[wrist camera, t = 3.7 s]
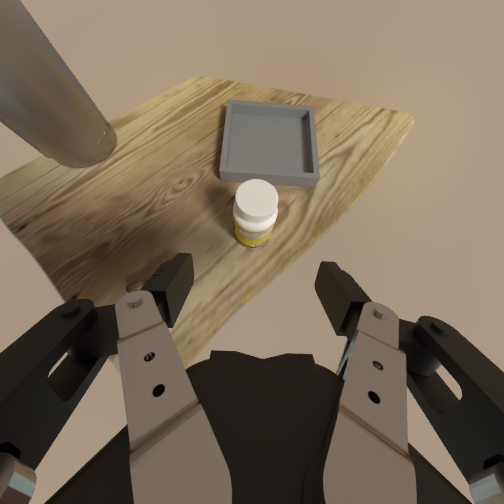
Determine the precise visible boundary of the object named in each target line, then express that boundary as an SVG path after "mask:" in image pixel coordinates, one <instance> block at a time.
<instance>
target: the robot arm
mask: <svg viewBox="0 0 504 504" xmlns="http://www.w3.org/2000/svg"><path fill="white" fill-rule="evenodd" d="M0 122H2V123H3V124H4V125H5V126H7V127H8V128H9V129H11V130H12V131H13V132H15V133H16V134H17V135H18V136H20V137H21V138H22V139H24V140H25V141H26V142H27V143H29V144H30V145H31V146H33V147H34V148H35V149H37V150H38V151H39V152H40V153H42V154H43V155H44V156H46V157H51V158H53V159H54V160H56V161H57V162H58V163H60V164H62V165H64V166H68V167H75V168H79V167H87V166H91V165H93V164H96V163H98V162H100V161H102V160H103V159H105V158H106V157H107V156H108V155H109V154H110V153H111V152H112V151H113V149H114V147H115V145H116V134H115V132H114V130H113V129H112V127H111V126H110V125H109V123H108V122H107V120H105V118H104V116H103V115H102V113H101V112H100V111H99V110H98V108H97V106H96V105H95V104H94V102H93V101H92V99H91V98H90V97H89V95H88V94H87V92H86V91H85V90H84V88H83V87H82V85H81V84H80V83H79V81H78V80H77V79H76V77H75V76H74V75H73V73H72V72H71V70H70V69H69V67H68V66H67V65H66V63H65V62H64V61H63V59H62V58H61V56H60V55H59V54H58V52H57V51H56V50H55V48H54V47H53V45H52V44H51V43H50V41H49V40H48V39H47V37H46V36H45V34H44V33H43V31H42V30H41V29H40V27H39V26H38V25H37V23H36V22H35V20H34V19H33V18H32V17H31V15H30V13H29V12H28V11H27V9H26V8H25V7H24V5H23V4H22V2H21V1H20V0H0ZM193 282H194V269H193V259H192V254H191V253H177V255H176V256H175V257H174V258H173V260H168V261H166V262H165V263H163V264H161V265H160V267H159V268H158V269H157V271H155V272H154V274H153V276H151V277H150V278H149V280H148V281H147V282H146V283H145V284H144V286H143V287H142V288H141V289H140V290H139V291H134V292H131V293H128V294H126V295H124V296H123V297H121V298H120V299H119V300H118V301H117V302H116V304H113V305H108V306H102V307H96V308H95V306H94V304H93V302H92V301H91V300H89V299H77V300H73V301H69V302H67V303H64V304H62V305H60V306H58V307H57V308H55V309H54V310H52V311H51V312H50V313H49V314H47V315H46V316H45V317H44V318H43V319H41V320H40V321H39V322H38V323H37V324H35V325H34V326H33V327H32V328H30V329H29V330H28V331H27V332H26V333H24V334H23V335H22V336H21V337H19V338H18V339H17V340H16V341H15V342H13V343H12V344H11V345H10V346H9V347H7V348H6V349H5V350H4V351H3V352H1V353H0V504H29V502H30V499H31V498H32V495H33V492H34V490H35V486H36V473H35V469H36V468H37V467H38V465H39V463H40V462H41V460H42V459H43V457H44V456H45V454H46V453H47V451H48V450H49V448H50V446H51V445H52V443H53V442H54V440H55V439H56V437H57V436H58V434H59V433H60V431H61V430H62V428H63V426H64V425H65V423H66V422H67V420H68V419H69V417H70V416H71V414H72V412H73V411H74V409H75V408H76V406H77V405H78V403H79V402H80V400H81V399H82V397H83V396H84V394H85V393H86V391H87V389H88V388H89V386H90V385H91V383H92V382H93V380H94V379H95V377H96V376H97V374H98V372H99V371H100V369H101V368H102V366H103V365H104V363H105V362H106V360H107V359H108V357H109V355H114V354H118V355H119V363H120V371H121V378H122V386H123V394H124V401H125V409H126V417H127V425H126V426H125V427H124V428H123V429H122V430H121V431H120V432H119V433H118V434H117V435H116V436H115V437H113V438H112V439H111V440H110V441H109V442H108V443H107V444H106V445H105V446H104V447H103V448H102V449H101V450H100V451H99V452H98V453H97V454H96V455H95V456H94V457H93V458H91V459H90V461H88V462H87V463H86V464H85V465H84V466H83V467H82V468H81V469H80V470H79V471H78V472H77V473H76V474H75V475H74V476H73V477H72V478H71V479H69V480H68V481H67V483H65V484H64V485H63V486H62V487H61V488H60V489H59V490H58V491H57V492H56V493H55V494H54V495H53V496H52V497H51V498H50V499H48V500H47V501H46V502H45V503H44V504H472V503H471V502H470V501H469V500H468V499H467V498H466V497H465V496H464V495H463V494H461V492H460V491H458V490H457V489H456V488H455V487H454V486H453V485H452V484H451V483H450V482H449V481H448V480H447V479H446V478H445V477H444V476H443V475H442V474H441V473H440V472H439V471H438V470H436V469H435V467H434V466H432V465H431V464H430V463H429V462H428V461H427V460H426V459H425V458H424V457H423V456H422V455H421V454H420V453H419V452H418V451H417V450H416V449H415V448H414V447H413V446H412V445H411V444H410V443H408V439H407V438H408V436H407V387H408V388H409V390H410V392H411V393H412V395H413V396H414V398H415V399H416V401H417V402H418V404H419V406H420V407H421V409H422V411H423V412H424V414H425V415H426V417H427V418H428V420H429V422H430V423H431V425H432V426H433V428H434V430H435V431H436V433H437V434H438V436H439V438H440V439H441V441H442V443H443V444H444V446H445V447H446V449H447V450H448V452H449V454H450V455H451V457H452V458H453V460H454V462H455V463H456V465H457V466H458V468H459V470H460V471H461V472H462V474H463V476H464V477H465V479H466V481H467V482H468V484H469V489H470V493H471V496H472V499H473V501H474V503H475V504H504V372H503V371H501V370H500V369H499V368H498V367H497V366H496V365H495V364H494V363H493V362H491V361H490V360H489V359H488V358H487V357H486V356H485V355H484V354H482V353H481V352H480V351H479V350H478V349H477V348H476V347H475V346H474V345H472V344H471V343H470V342H469V341H468V340H467V339H466V338H465V337H463V336H462V335H461V334H460V333H459V332H458V331H457V330H456V329H454V328H453V327H452V326H450V325H449V324H447V323H445V322H443V321H441V320H439V319H437V318H434V317H430V316H422V317H420V318H419V319H418V321H417V322H416V323H413V322H409V321H406V320H402V319H399V318H398V316H397V315H396V314H395V313H394V312H393V311H392V310H391V309H389V308H388V307H386V306H384V305H382V304H379V303H375V302H372V301H371V299H370V298H369V297H368V296H367V295H366V293H365V292H364V291H363V290H362V288H361V287H359V285H358V284H357V283H356V282H355V280H354V279H353V278H352V276H350V275H349V274H348V273H346V272H345V271H343V270H341V269H340V268H339V266H338V265H337V264H336V263H335V262H325V261H322V262H321V263H320V267H319V270H318V273H317V277H316V280H315V290H316V293H317V295H318V297H319V299H320V301H321V304H322V306H323V307H324V310H325V312H326V314H327V316H328V318H329V320H330V322H331V324H332V326H333V329H334V331H335V333H336V335H337V336H346V337H347V339H348V340H347V342H346V344H345V347H344V350H343V353H342V356H341V360H340V363H339V366H338V369H337V371H336V374H335V373H333V372H332V371H330V370H329V369H327V368H325V367H323V366H321V365H318V364H315V362H314V358H313V355H312V354H290V353H289V354H288V353H287V354H283V355H279V356H274V357H270V358H266V359H260V358H257V357H254V356H250V355H246V354H244V353H240V352H237V351H214V350H212V351H211V354H210V359H208V360H204V361H201V362H198V363H196V364H194V365H192V366H191V367H189V368H187V369H186V370H185V368H184V366H183V363H182V361H181V359H180V356H179V354H178V351H177V349H176V347H175V344H174V342H173V339H172V337H171V335H170V332H169V330H168V328H173V326H174V324H175V322H176V320H177V318H178V315H179V313H180V311H181V309H182V307H183V305H184V302H185V300H186V298H187V296H188V294H189V292H190V289H191V287H192V285H193ZM66 352H67V353H68V355H67V356H66V358H65V359H64V360H63V361H62V362H61V364H60V365H59V366H58V367H57V368H56V369H55V370H54V371H53V373H52V374H51V375H50V376H49V377H48V375H49V372H50V370H51V369H52V368H53V366H54V365H55V364H56V363H57V362H58V361H59V359H60V358H61V357H62V356H63V355H64V354H65V353H66ZM441 365H443V366H444V367H445V369H446V370H447V371H448V372H449V373H450V374H451V375H452V377H453V378H454V379H455V380H456V381H457V383H458V384H459V385H460V387H461V389H462V398H461V400H458V398H457V397H456V396H455V395H454V393H453V392H452V391H451V390H450V388H449V387H448V386H447V385H446V383H445V382H444V381H443V380H442V379H441V377H440V376H439V375H438V374H437V372H436V370H437V369H438V368H439V367H440V366H441Z"/></svg>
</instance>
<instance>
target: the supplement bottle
mask: <svg viewBox="0 0 504 504" xmlns="http://www.w3.org/2000/svg"><path fill="white" fill-rule="evenodd" d="M277 204H278V194H277V191H276V189H275V188H274V187H273V186H272V185H271V184H270V183H268V182H267V181H264V180H261V179H251V180H248V181H245V182H244V183H242V184H241V185H240V186H239V188H238V189H237V191H236V195H235V203H234V206H233V219H234V227H235V235H236V238H237V240H238V242H239V243H240V244H241V245H243V246H244V247H247V248H252V249H254V248H259V247H261V246H263V245H264V244H266V242H267V241H268V239H269V237H270V234H271V231H272V229H273V226H274V223H275V221H276V218H277V213H278V209H277Z"/></svg>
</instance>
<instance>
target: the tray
mask: <svg viewBox="0 0 504 504" xmlns="http://www.w3.org/2000/svg"><path fill="white" fill-rule="evenodd" d="M219 172H220V178H221V181H230V182H245V181H248V180H251V179H261V180H264V181H267V182H268V183H270V184H273V185H288V186H303V187H315V186H316V184H317V182H318V180H319V179H320V174H319V162H318V150H317V138H316V127H315V115H314V107H310V106H298V105H286V104H274V103H262V102H251V101H239V100H228V101H227V110H226V118H225V127H224V135H223V144H222V152H221V161H220V169H219Z"/></svg>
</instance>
